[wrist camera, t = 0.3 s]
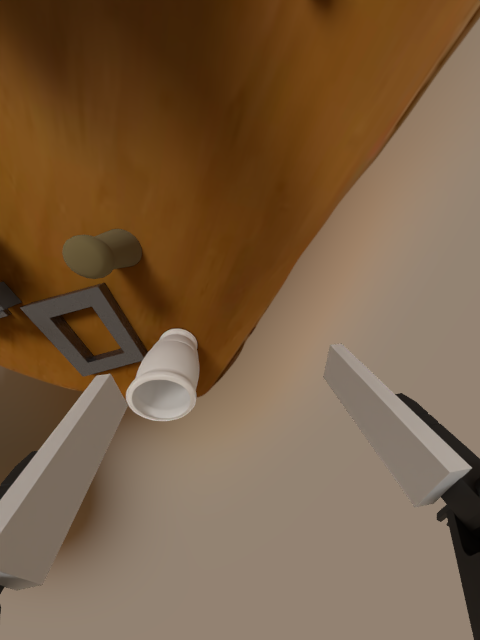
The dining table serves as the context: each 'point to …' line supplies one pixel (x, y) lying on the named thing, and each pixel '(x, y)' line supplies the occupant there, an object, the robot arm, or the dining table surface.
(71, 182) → the dining table surface
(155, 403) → the jar
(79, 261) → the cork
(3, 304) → the rest stop
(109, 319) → the grey rectangular frame
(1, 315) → the grey metal bracket
